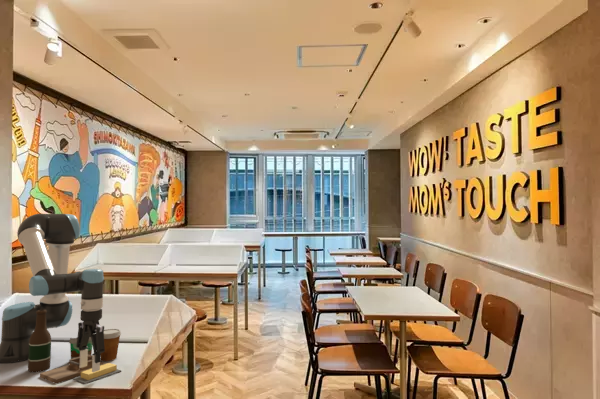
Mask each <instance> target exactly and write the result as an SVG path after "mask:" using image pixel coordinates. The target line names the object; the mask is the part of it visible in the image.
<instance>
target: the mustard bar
mask: <svg viewBox="0 0 600 399" xmlns="http://www.w3.org/2000/svg"><path fill="white" fill-rule="evenodd" d="M117 367H118V366H117V364H115V363H111V362H108V363H105V364H104V365H101V366H100V370H99V371H95V372H92V369H89V370H86V371H83V372H81V378H84V379H87V380H90V379H93V378H95V377H98V376H101V375H104V374H107V373H110V372H113V371H115V370H117V369H118V368H117Z"/></svg>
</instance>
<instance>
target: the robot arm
mask: <svg viewBox="0 0 600 399" xmlns="http://www.w3.org/2000/svg"><path fill="white" fill-rule="evenodd" d="M16 233H17V239H18V242H19V243H20V244H21V245H22V246H23V249H24V252H25V255H26V258H27V262H28V264H29V267H30V271H31V275H32V276H31V277H30V279H29V282H28V290H29V294H30V295H31V296H33V297H36V296H37V297H40V296H41V298H40V300H39V304H36V303H35V302H34V301H26V302H20V303H15V304H12V305H9V306H6V307H5V308H4V309H3V311H2V317H1V336H0V339H1V340H0V364H9V363H11V364H12V363H17V362H18V363H19V362H23V361H28V355H29V340H30V337H31V335H32V333H33V332H34V331H35V327H36V318H37V313H36V312H37V311H38V310H46V311H47V313H46V327H47V330H48V329H57V328H59V327H64V326H66V325H68V324H69V322H70V320H71V318H72V316H73V303H72V301H70V300H69V297H68V296H67V295H66V294H69V293H76V292H81V298H80V299H81V302H80V309H81V311H80V321H81V322H78V324H77V325H78V331H77V337H76V338H77V345H76V347H77V348H79V350H80V366H79V368H82V367H85V366H87V360H88V349H86V348H88V346H87V344H88V341H89V337H91V340H92V351H93V353H91V355H92V372H95V371H99V370H100V358H101V353H103V352H105V347H104V330H105V325H102V326H101V325H100V320H102V318H103V309H102V308H103V306H104V304H103V302H104V301H103V300H104V297H103V296H104V295H103V294H104V280H105V277H104V270H103V269H101V268H89V269H84V270H83V271H76V272H71V273H68V271H69V270H68V269H69V258H70V250H71V246H72V245H74V243H75V240H76V239H78V238H80V234H81V227H80V222H79V219H78V218H77V217H76V215H74V214H69V213H35V214H32V215H30V216H28V217H26V218H24V220H23V221H22V222H21V223H20V225H19V226H18V228H17V232H16ZM47 246H48V247H47Z"/></svg>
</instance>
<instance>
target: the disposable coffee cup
mask: <svg viewBox="0 0 600 399" xmlns="http://www.w3.org/2000/svg"><path fill="white" fill-rule="evenodd" d="M121 336H122V332H121V329H118V328H108V329H104V347H105V352H103V353H101V356H100V358H101V362H102V361H103V362H111V361H114V360H116V359H117V357H118V356H117V355H118V350H119V343H120V340H121V339H120V337H121Z"/></svg>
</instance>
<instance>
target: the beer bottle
mask: <svg viewBox="0 0 600 399" xmlns="http://www.w3.org/2000/svg"><path fill="white" fill-rule="evenodd" d="M36 313H37V318H36V327H35V331H33V333H32V335H31V337H30V340H29V355H28V359H27V370H28V372H29V373H42V372H46V371H48V370H50V368H51V358H52V357H51V355H52V354H51V353H52V336H51V333H50V332H49V330H48V329H47V327H46V313H47V311H46V310H38V311H37V312H36Z"/></svg>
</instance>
